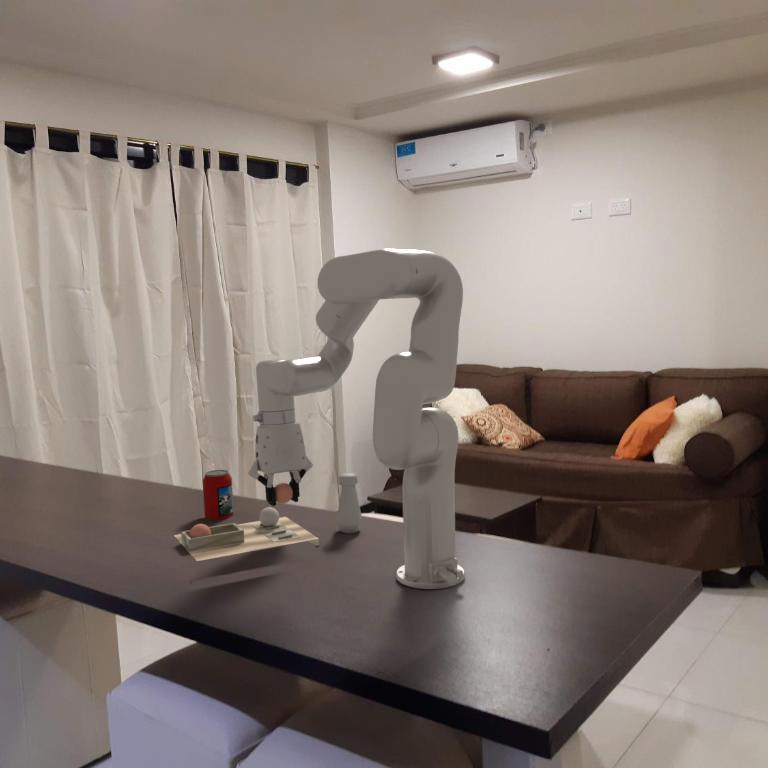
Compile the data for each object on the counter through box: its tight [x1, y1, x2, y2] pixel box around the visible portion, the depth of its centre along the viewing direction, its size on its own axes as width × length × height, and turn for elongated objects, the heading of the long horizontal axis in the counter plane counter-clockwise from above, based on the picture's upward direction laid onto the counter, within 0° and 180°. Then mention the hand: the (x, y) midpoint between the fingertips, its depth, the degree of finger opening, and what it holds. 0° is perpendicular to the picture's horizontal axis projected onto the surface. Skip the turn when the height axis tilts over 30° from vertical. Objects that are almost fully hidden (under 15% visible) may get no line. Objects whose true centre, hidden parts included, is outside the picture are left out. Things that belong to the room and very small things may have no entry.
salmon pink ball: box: [274, 482, 293, 504], centre depth 164 cm, size 4×4×4 cm
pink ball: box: [190, 523, 211, 538], centre depth 161 cm, size 4×4×4 cm
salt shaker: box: [335, 472, 363, 534], centre depth 173 cm, size 6×6×13 cm
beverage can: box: [202, 469, 235, 521], centre depth 183 cm, size 7×7×12 cm
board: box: [173, 516, 320, 562], centre depth 166 cm, size 20×26×4 cm
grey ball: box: [259, 506, 280, 527], centre depth 173 cm, size 4×4×4 cm
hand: (283, 501), depth 164 cm, fingers closed on salmon pink ball, 4 cm apart
